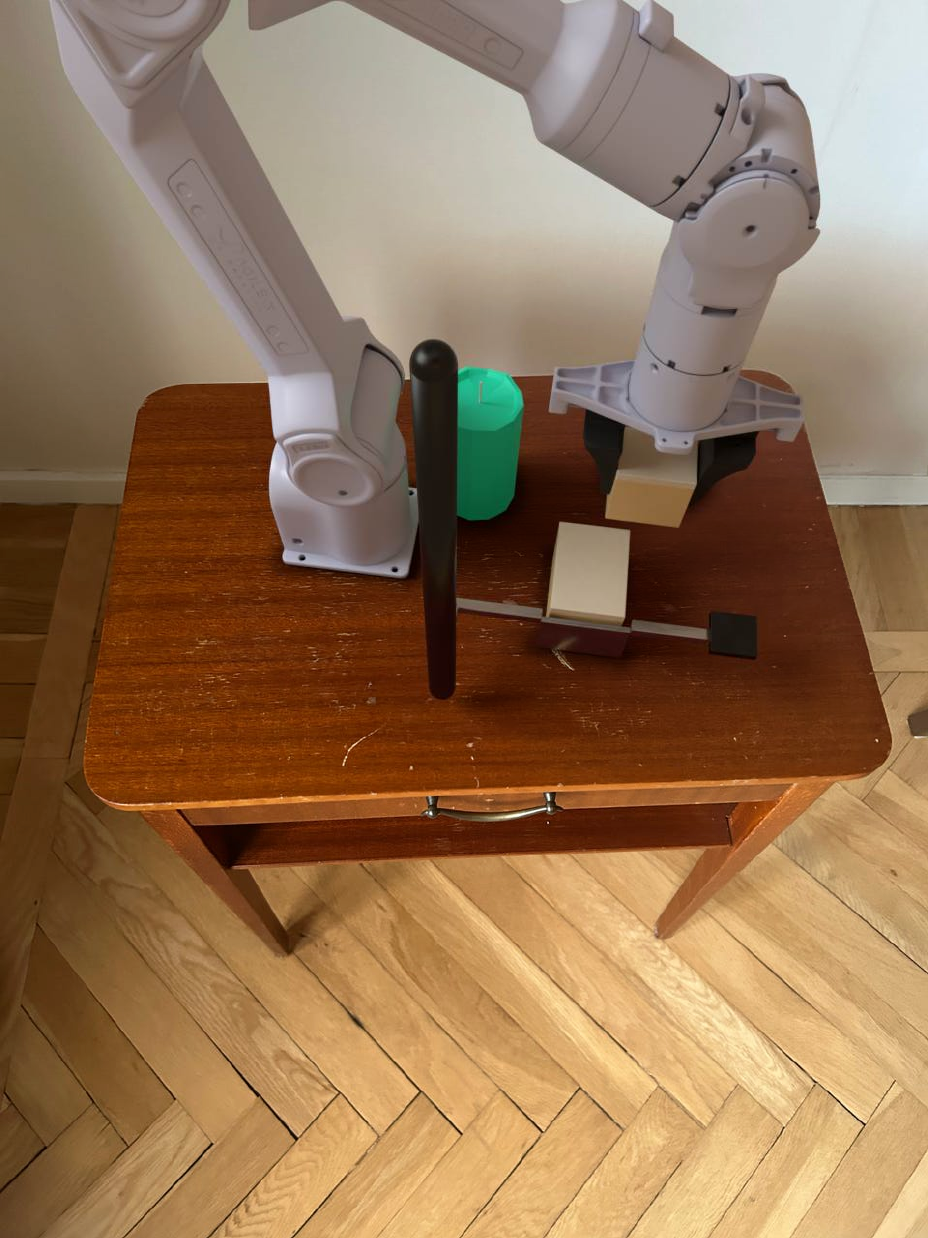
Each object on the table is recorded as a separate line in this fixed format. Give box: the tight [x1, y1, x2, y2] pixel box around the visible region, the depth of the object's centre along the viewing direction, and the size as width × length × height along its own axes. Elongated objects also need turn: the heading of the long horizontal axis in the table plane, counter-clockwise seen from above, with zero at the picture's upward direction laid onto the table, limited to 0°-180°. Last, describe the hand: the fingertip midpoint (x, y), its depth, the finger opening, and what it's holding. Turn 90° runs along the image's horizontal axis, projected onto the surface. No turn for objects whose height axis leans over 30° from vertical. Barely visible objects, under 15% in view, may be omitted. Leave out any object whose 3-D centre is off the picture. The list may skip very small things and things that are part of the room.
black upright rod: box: [408, 338, 758, 701], centre depth 47 cm, size 21×7×33 cm, turn 82°
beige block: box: [604, 426, 699, 529], centre depth 58 cm, size 5×4×5 cm
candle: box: [457, 366, 525, 521], centre depth 64 cm, size 6×6×12 cm
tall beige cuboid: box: [545, 521, 631, 627], centre depth 62 cm, size 5×7×5 cm
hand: (646, 487), depth 59 cm, fingers closed on beige block, 5 cm apart
